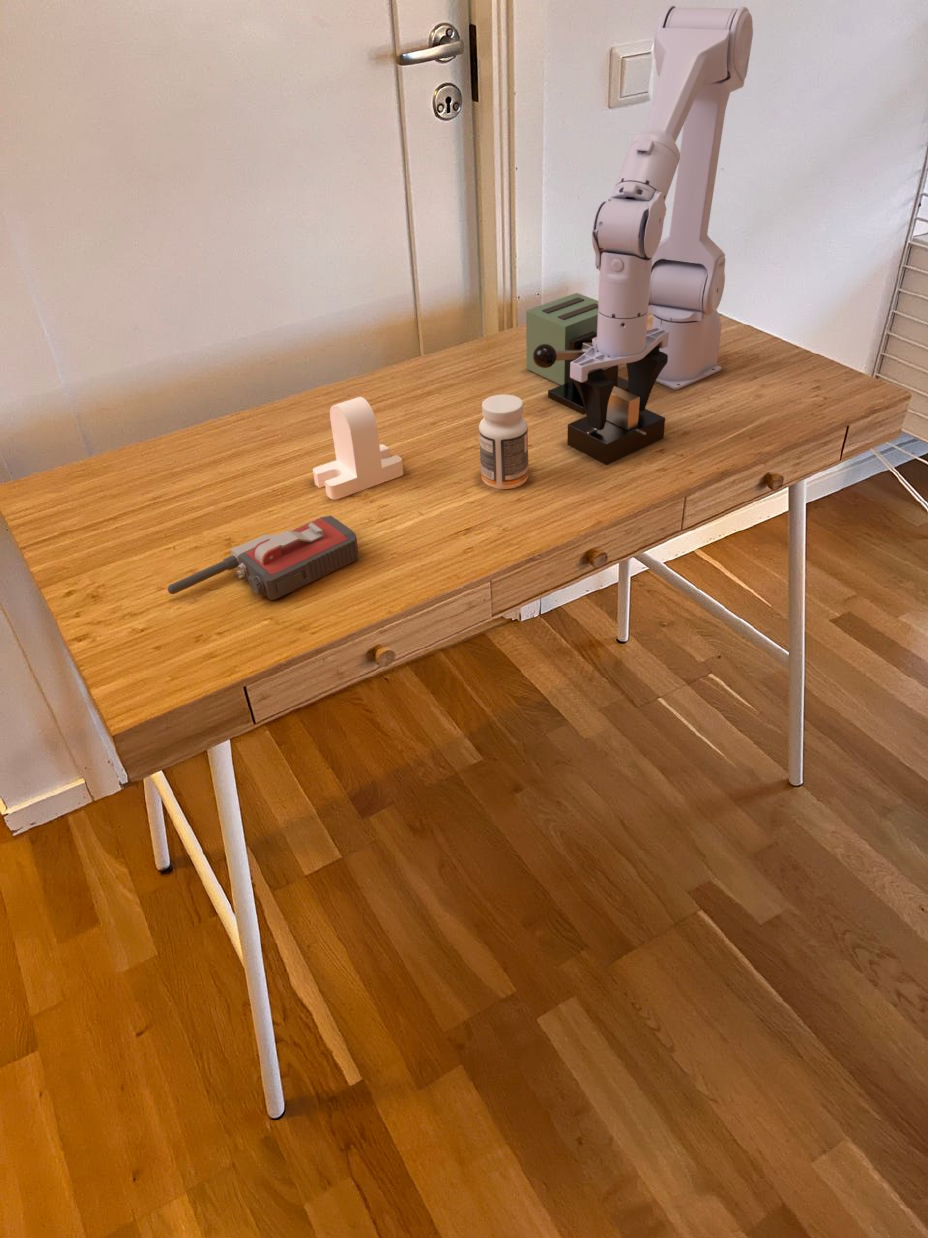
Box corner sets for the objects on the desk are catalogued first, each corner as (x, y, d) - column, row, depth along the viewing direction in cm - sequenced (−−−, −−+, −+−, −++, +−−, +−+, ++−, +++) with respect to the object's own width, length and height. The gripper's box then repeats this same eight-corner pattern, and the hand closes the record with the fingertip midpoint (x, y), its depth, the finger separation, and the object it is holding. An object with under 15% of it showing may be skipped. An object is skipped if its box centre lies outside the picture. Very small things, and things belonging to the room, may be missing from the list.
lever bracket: (583, 415, 127) (584, 359, 122) (547, 398, 131) (548, 343, 126) (636, 392, 131) (640, 337, 126) (600, 376, 136) (603, 322, 131)
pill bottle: (529, 467, 117) (529, 391, 111) (527, 491, 112) (526, 414, 106) (483, 466, 117) (480, 391, 111) (478, 491, 113) (475, 414, 107)
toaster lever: (541, 371, 121) (546, 347, 119) (526, 364, 123) (530, 340, 121) (606, 367, 128) (611, 345, 126) (590, 361, 130) (595, 338, 128)
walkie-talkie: (327, 523, 109) (166, 596, 100) (322, 489, 106) (156, 562, 97) (372, 555, 104) (206, 636, 94) (367, 521, 101) (196, 601, 91)
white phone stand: (405, 474, 117) (397, 398, 111) (333, 500, 113) (321, 423, 107) (383, 457, 120) (375, 383, 114) (313, 482, 116) (300, 406, 110)
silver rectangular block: (638, 425, 117) (640, 395, 115) (627, 430, 117) (629, 399, 114) (605, 410, 121) (607, 380, 118) (595, 415, 120) (596, 385, 117)
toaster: (575, 352, 142) (576, 291, 137) (613, 369, 137) (616, 306, 131) (526, 371, 138) (526, 308, 132) (564, 389, 133) (565, 325, 127)
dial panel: (616, 416, 126) (617, 394, 124) (671, 443, 120) (674, 420, 118) (559, 441, 121) (560, 419, 119) (614, 470, 115) (615, 447, 113)
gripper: (641, 284, 116) (634, 388, 124) (552, 317, 109) (551, 425, 118) (686, 299, 111) (675, 406, 120) (596, 334, 105) (591, 445, 113)
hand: (616, 417), depth 118 cm, fingers open, 6 cm apart
